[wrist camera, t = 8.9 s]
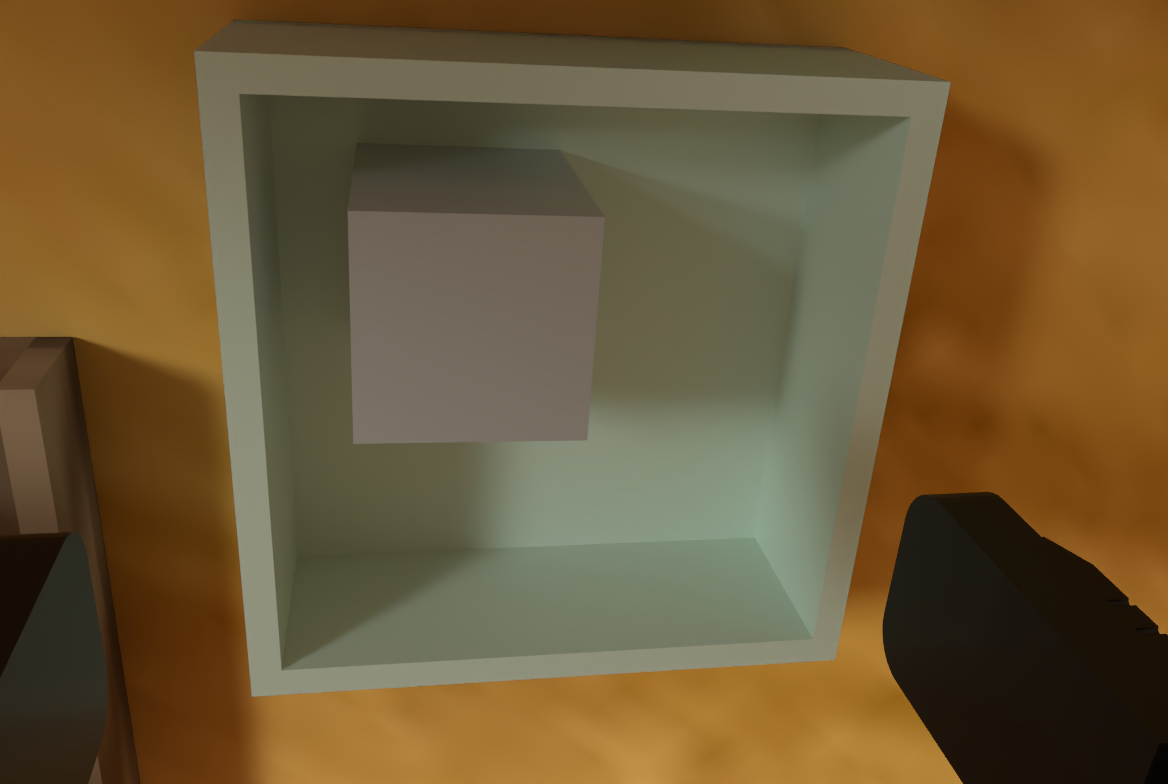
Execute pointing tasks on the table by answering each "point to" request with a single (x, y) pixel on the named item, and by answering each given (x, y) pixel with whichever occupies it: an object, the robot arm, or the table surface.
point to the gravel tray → (60, 501)
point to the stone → (471, 295)
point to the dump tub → (621, 357)
